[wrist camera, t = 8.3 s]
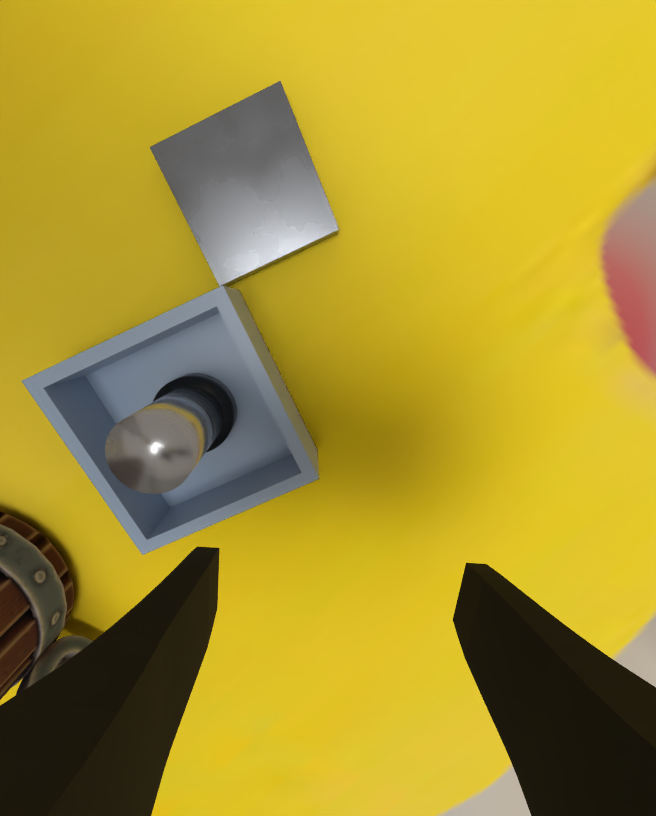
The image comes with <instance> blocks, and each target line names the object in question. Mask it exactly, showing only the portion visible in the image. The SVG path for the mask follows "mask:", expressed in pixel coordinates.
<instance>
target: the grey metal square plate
mask: <svg viewBox="0 0 656 816" xmlns="http://www.w3.org/2000/svg"><path fill="white" fill-rule="evenodd" d="M150 149H151V151H152V153H153V155H154V157H155V159H156V161H157V163H158V165H159V167H160V169H161V171H162V173H163V174H164V176H165V178H166V180H167V182H168V184H169V186H170V188H171V190H172V192H173V194H174V196H175V198H176V200H177V202H178V204H179V206H180V208H181V210H182V212H183V214H184V216H185V218H186V220H187V222H188V224H189V226H190V228H191V230H192V232H193V234H194V236H195V238H196V240H197V242H198V244H199V246H200V248H201V250H202V252H203V254H204V256H205V258H206V260H207V262H208V264H209V266H210V268H211V270H212V272H213V274H214V276H215V278H216V280H217V282H218V284H219V286H222V285H224V286H229V285H231V284H233V283H235V282H237V281H239V280H241V279H243V278H245V277H248V276H250V275H252V274H254V273H256V272H258V271H260V270H262V269H264V268H267V267H269V266H271V265H273V264H275V263H277V262H279V261H281V260H283V259H286V258H288V257H290V256H292V255H294V254H296V253H298V252H300V251H302V250H304V249H307V248H309V247H311V246H313V245H315V244H317V243H319V242H321V241H323V240H326V239H328V238H330V237H332V236H334V235H336V234H338V231H339V228H338V225H337V223H336V220H335V218H334V215H333V212H332V210H331V207H330V205H329V202H328V200H327V197H326V195H325V192H324V190H323V187H322V185H321V182H320V180H319V177H318V175H317V172H316V170H315V167H314V165H313V162H312V160H311V157H310V154H309V152H308V149H307V147H306V144H305V142H304V139H303V137H302V134H301V132H300V129H299V127H298V124H297V122H296V119H295V117H294V114H293V112H292V109H291V107H290V104H289V102H288V99H287V97H286V94H285V91H284V89H283V86H282V84H281V81H279V82H277V83H275V84H273V85H271V86H269V87H267V88H265V89H263V90H261V91H259V92H257V93H255V94H253V95H252V96H250V97H248V98H246V99H244V100H242V101H240V102H238V103H236V104H234V105H232V106H230V107H228V108H226V109H224V110H222V111H220V112H218V113H216V114H214V115H212V116H210V117H208V118H206V119H204V120H202V121H200V122H198V123H196V124H194V125H192V126H190V127H189V128H187V129H185V130H183V131H181V132H179V133H177V134H175V135H173V136H171V137H169V138H167V139H165V140H163V141H161V142H159V143H157V144H155V145H153V146H151V147H150Z"/></svg>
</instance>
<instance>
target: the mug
mask: <svg viewBox="0 0 656 816" xmlns="http://www.w3.org/2000/svg"><path fill="white" fill-rule="evenodd" d="M73 601H74V590H73V582H72V579H71V576H70V573H69V570H68V568H67V566H66V564H65V562H64V560H63V558H62V556H61V554H60V552H59V551H58V550H57V549H56V548H55V547H54V546H53V544H52V543H51V542H50V541H49V540H48V539H47V538H46V536H44V535H43V534H42V533H40V532H39V531H37V530H36V529H35V528H33V527H32V526H30V525H29V524H28V523H26V522H24V521H22V520H19V519H17V518H15V517H13V516H10V515H8V514H6V513H3V512H0V700H1V698H2V697H3V696H4V695H5V694H6V693H7V692H8V690H9V689H10V688H11V687H13V686H15V685H16V684H17V683H18V682H19V681H20V680H21V679H22V678H23V677H24V676H25V677H24V678H23V680H22V681H21V684H20V686H19V688H18V690H17V693H16V695H17V694H19V693H20V692H22V691H23V690H25V689H26V688H28V687H29V686H31V685H32V684H34V683H35V682H37V681H39V680H40V679H42V678H43V677H45V676H46V675H48V674H49V673H51V672H52V671H53V670H55V669H56V668H58V667H59V666H61V665H62V664H64V663H65V662H66V661H68V660H69V659H70V658H72V657H73V656H74V655H76V654H77V653H78V652H80V651H81V650H82V649H84V648H85V647H86V646H88V645H89V644H90V643H92V642H93V641H92V640H90V639H88V638H86V637H84V636H75V635H71V636H67V637H63V638H60V639H59V640H57V638H58V636H59V634H60V633H61V631H62V629H63V628H64V626H65V624H66V623H67V621H68V620H69V612H70V610H71V609H72V608H73ZM56 640H57V641H56Z"/></svg>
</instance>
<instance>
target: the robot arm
mask: <svg viewBox="0 0 656 816" xmlns="http://www.w3.org/2000/svg"><path fill="white" fill-rule="evenodd" d="M218 571H219V548H209V547H196V548H195V549H194V550H193V551H192V552H191V553H190V554H189V555H188V556H187V557H186V558H185V559H184V560H183V561H182V562H181V563H180V564H179V565H178V566H177V567H176V568H175V569H174V570H173V571H172V572H171V573H170V574H169V575H168V576H167V577H166V578H165V579H164V580H163V581H162V582H161V583H160V584H159V585H158V586H157V587H155V588H154V589H153V590H152V591H151V592H150V593H149V594H148V595H147V596H146V597H145V598H144V599H143V600H142V601H140V602H139V603H138V604H137V605H136V606H135V607H134V608H133V609H131V610H130V611H129V612H128V613H127V614H126V615H124V616H123V617H122V618H121V619H120V620H119V621H117V622H116V623H115V624H114V625H113V626H112V627H110V628H109V629H108V630H107V631H105V632H104V633H103V634H102V635H100V636H99V637H98V638H97V639H95V640H94V641H93V642H92V643H90V644H89V645H88V646H86V647H85V648H84V649H82V650H81V651H80V652H78V653H77V654H76V655H74V656H73V657H72V658H70V659H69V660H68V661H66V662H65V663H64V664H62V665H61V666H59V667H58V668H56V669H55V670H53V671H52V672H51V673H49V674H48V675H46V676H45V677H43V678H42V679H40V680H39V681H37V682H35V683H34V684H32V685H31V686H29V687H28V688H26V689H25V690H23V691H22V692H20V693H19V694H17V695H16V696H14V697H13V698H11V699H10V700H8V701H7V702H5V703H4V704H2V705H0V816H151V814H152V810H153V807H154V803H155V800H156V796H157V793H158V789H159V785H160V782H161V778H162V775H163V771H164V768H165V765H166V762H167V759H168V756H169V753H170V750H171V747H172V744H173V741H174V738H175V735H176V733H177V730H178V727H179V724H180V722H181V719H182V716H183V714H184V711H185V708H186V705H187V703H188V700H189V697H190V694H191V692H192V689H193V686H194V683H195V681H196V678H197V675H198V672H199V669H200V667H201V664H202V661H203V658H204V656H205V653H206V650H207V647H208V643H209V639H210V635H211V632H212V628H213V623H214V619H215V615H216V611H217V600H218ZM453 622H454V625H455V628H456V632H457V635H458V638H459V641H460V644H461V647H462V650H463V653H464V656H465V659H466V661H467V664H468V666H469V668H470V671H471V673H472V675H473V677H474V680H475V682H476V684H477V686H478V689H479V691H480V693H481V695H482V697H483V700H484V702H485V704H486V706H487V708H488V711H489V713H490V715H491V717H492V720H493V722H494V724H495V726H496V728H497V731H498V733H499V735H500V737H501V739H502V742H503V744H504V746H505V748H506V751H507V753H508V755H509V758H510V760H511V762H512V765H513V767H514V770H515V772H516V774H517V777H518V780H519V783H520V785H521V788H522V791H523V794H524V796H525V799H526V802H527V804H528V807H529V810H530V813H531V816H656V688H655V687H654V686H652V685H651V684H649V683H648V682H646V681H645V680H643V679H642V678H640V677H639V676H637V675H636V674H634V673H632V672H631V671H629V670H628V669H626V668H625V667H623V666H622V665H620V664H619V663H617V662H616V661H614V660H613V659H611V658H610V657H608V656H607V655H605V654H604V653H603V652H601V651H600V650H598V649H597V648H596V647H594V646H593V645H591V644H590V643H589V642H587V641H586V640H585V639H583V638H582V637H580V636H579V635H578V634H576V633H575V632H574V631H572V630H571V629H570V628H568V627H567V626H566V625H564V624H563V623H562V622H560V621H559V620H558V619H556V618H555V617H554V616H552V615H551V614H550V613H549V612H547V611H546V610H545V609H543V608H542V607H541V606H540V605H538V604H537V603H536V602H535V601H533V600H532V599H531V598H530V597H528V596H527V595H526V594H525V593H523V592H522V591H521V590H519V589H518V588H517V587H516V586H514V585H513V584H512V583H511V582H509V581H508V580H507V579H506V578H504V577H503V576H502V575H500V574H499V573H498V572H496V571H495V570H494V569H492V568H491V567H489V566H488V565H487V564H475V563H466V566H465V570H464V575H463V579H462V583H461V587H460V592H459V596H458V600H457V604H456V609H455V613H454V617H453Z"/></svg>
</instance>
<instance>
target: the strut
mask: <svg viewBox="0 0 656 816" xmlns="http://www.w3.org/2000/svg"><path fill="white" fill-rule="evenodd" d="M236 418H237V406H236V402H235V399H234V397H233V395H232V393H231V391H230V390H229V389H228V388H227V386H226V385H225V384H223V383H222V382H221V381H219V380H218V379H216V378H214V377H212V376H209V375H206V374H200V373H192V374H187V375H183V376H181V377H179V378H177V379H175V380H173V381H171V382H169V383H167V384H166V385H164V386H163V387H162V388H161V389H160V390H159V391H158V393H157V394H156V396H155V398H154V400H153V402H152V403H150V404H149V405H147V406H145V407H144V408H142V409H140V410H138V411H137V412H135V413H133V414H131V415H130V416H128V417H126V418H125V419H123V420H121V421H120V422H118V423H117V424H116V425H115V426H114V427H113V428H112V430H111V431H110V433H109V435H108V437H107V440H106V444H105V456H106V460H107V464H108V466H109V468H110V470H111V471H112V473H113V474H114V475H115V477H116V478H117V479H118V480H119V481H120V482H122V483H123V484H124V485H126V486H127V487H129V488H131V489H133V490H135V491H138V492H142V493H147V494H160V493H165V492H169V491H171V490H173V489H175V488H177V487H178V486H180V485H181V484H182V483H183V482H184V481H185V480H186V479H187V477H188V476H189V474H190V473H191V472H192V470H193V469H194V468H195V466H196V465H197V464H198V462H199V461H200V459H201V458H202V457H203V455H204V454H205V453H206V452H209V451H211V450H213V449H215V448H217V447H218V446H220V445H221V444H222V443H223V442H224V441H225V439H226V438H227V437H228V435H229V433H230V432H231V430H232V429H233V427H234V425H235V422H236Z"/></svg>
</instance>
